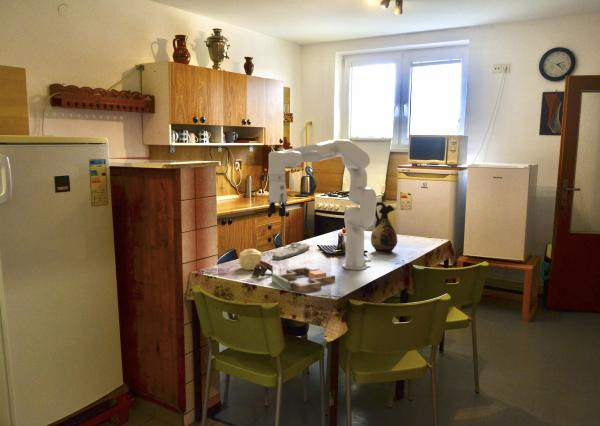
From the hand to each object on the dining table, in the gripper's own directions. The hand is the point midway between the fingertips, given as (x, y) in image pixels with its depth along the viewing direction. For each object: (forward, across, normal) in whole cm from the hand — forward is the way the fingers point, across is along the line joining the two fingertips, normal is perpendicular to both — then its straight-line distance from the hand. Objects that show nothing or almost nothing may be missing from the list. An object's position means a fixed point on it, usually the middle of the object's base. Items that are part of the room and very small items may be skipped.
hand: (277, 214), depth 230 cm
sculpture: (+32, +25, +3) cm, 40 cm away
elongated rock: (+32, +44, -32) cm, 63 cm away
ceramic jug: (+31, +20, -80) cm, 88 cm away
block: (+31, -10, -16) cm, 37 cm away
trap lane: (+31, -10, -9) cm, 34 cm away
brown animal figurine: (+32, +10, +3) cm, 33 cm away
